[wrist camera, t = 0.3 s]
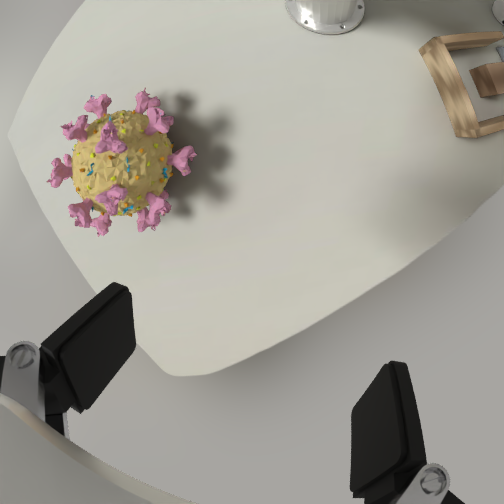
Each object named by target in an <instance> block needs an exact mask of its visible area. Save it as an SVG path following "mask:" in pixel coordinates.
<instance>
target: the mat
mask: <svg viewBox="0 0 504 504" xmlns="http://www.w3.org/2000/svg"><path fill="white" fill-rule="evenodd" d="M496 49H497V51H498V53H499V55H500V57H501V59H502V62H504V47H497V48H496Z"/></svg>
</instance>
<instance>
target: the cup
mask: <svg viewBox="0 0 504 504" xmlns="http://www.w3.org/2000/svg"><path fill="white" fill-rule="evenodd" d="M492 12H493V14H494V16H495V18H496V19H497V20H498V21H499V22H500V23H501V24H502V25H504V0H495V1H494V4H493V6H492Z"/></svg>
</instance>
